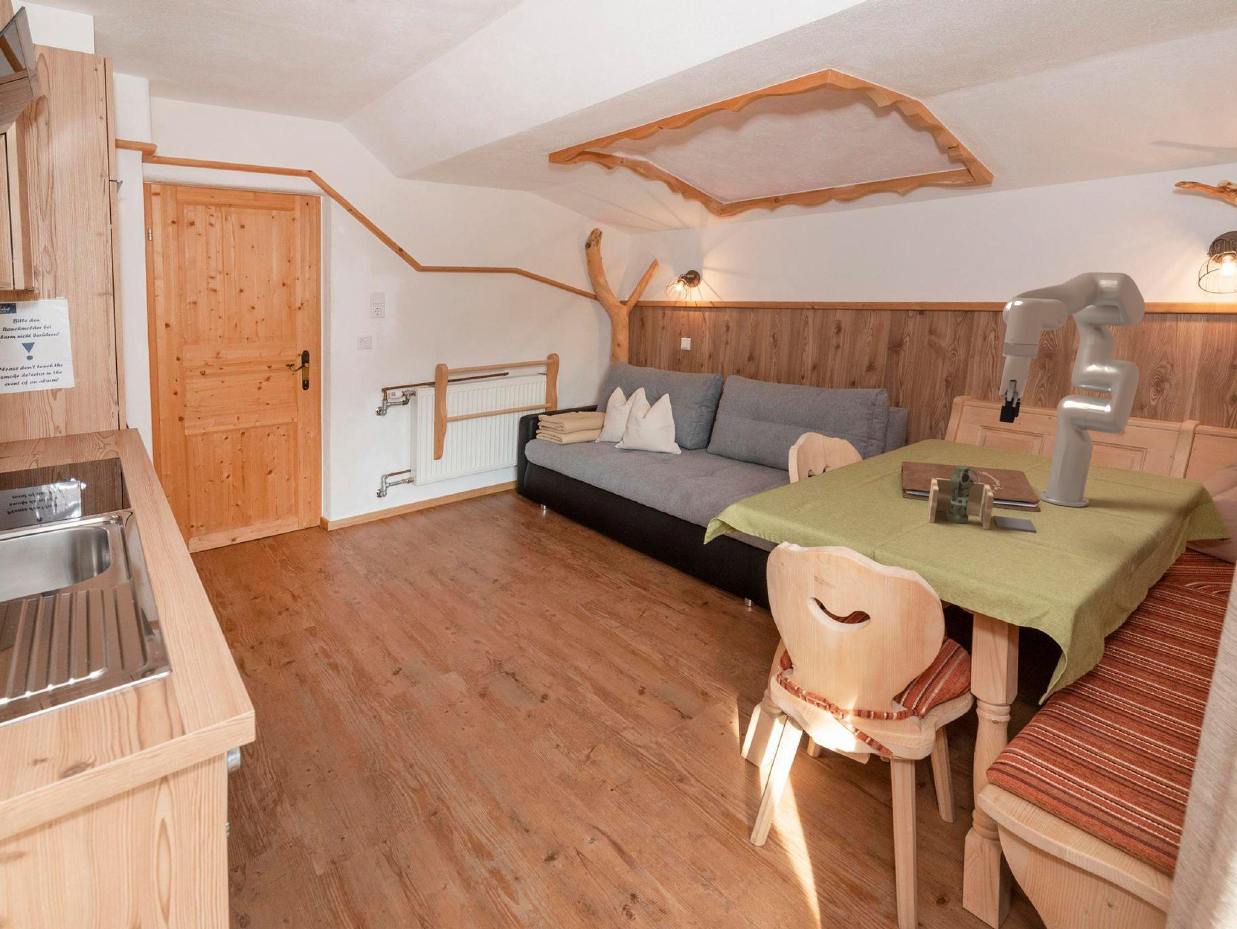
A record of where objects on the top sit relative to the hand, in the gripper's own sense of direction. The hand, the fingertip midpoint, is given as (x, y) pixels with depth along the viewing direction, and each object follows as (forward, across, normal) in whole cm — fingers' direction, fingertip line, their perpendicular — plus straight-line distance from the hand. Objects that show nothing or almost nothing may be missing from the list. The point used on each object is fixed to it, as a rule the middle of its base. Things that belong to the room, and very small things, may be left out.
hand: (1008, 419), depth 184 cm
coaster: (+29, -7, +5) cm, 30 cm away
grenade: (+29, -1, -8) cm, 31 cm away
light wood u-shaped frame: (+29, -3, -9) cm, 31 cm away
